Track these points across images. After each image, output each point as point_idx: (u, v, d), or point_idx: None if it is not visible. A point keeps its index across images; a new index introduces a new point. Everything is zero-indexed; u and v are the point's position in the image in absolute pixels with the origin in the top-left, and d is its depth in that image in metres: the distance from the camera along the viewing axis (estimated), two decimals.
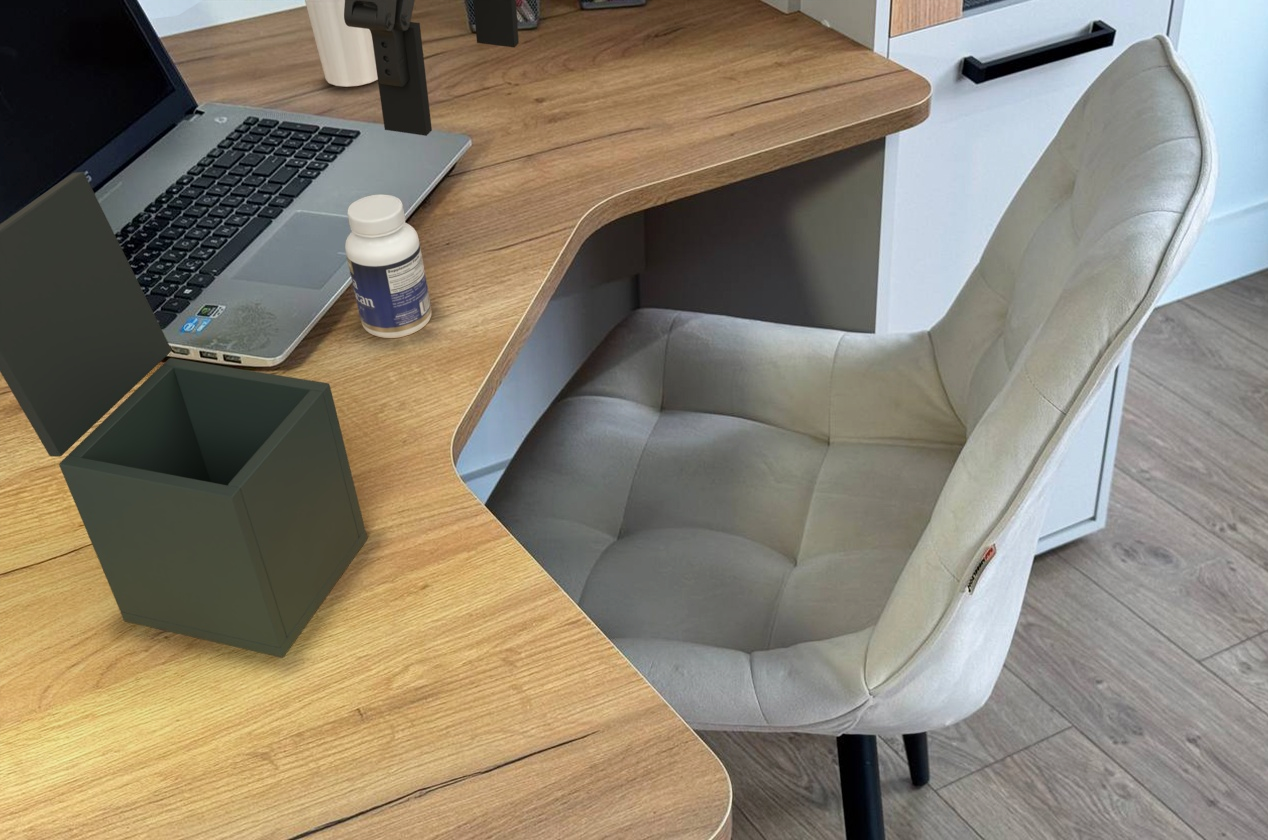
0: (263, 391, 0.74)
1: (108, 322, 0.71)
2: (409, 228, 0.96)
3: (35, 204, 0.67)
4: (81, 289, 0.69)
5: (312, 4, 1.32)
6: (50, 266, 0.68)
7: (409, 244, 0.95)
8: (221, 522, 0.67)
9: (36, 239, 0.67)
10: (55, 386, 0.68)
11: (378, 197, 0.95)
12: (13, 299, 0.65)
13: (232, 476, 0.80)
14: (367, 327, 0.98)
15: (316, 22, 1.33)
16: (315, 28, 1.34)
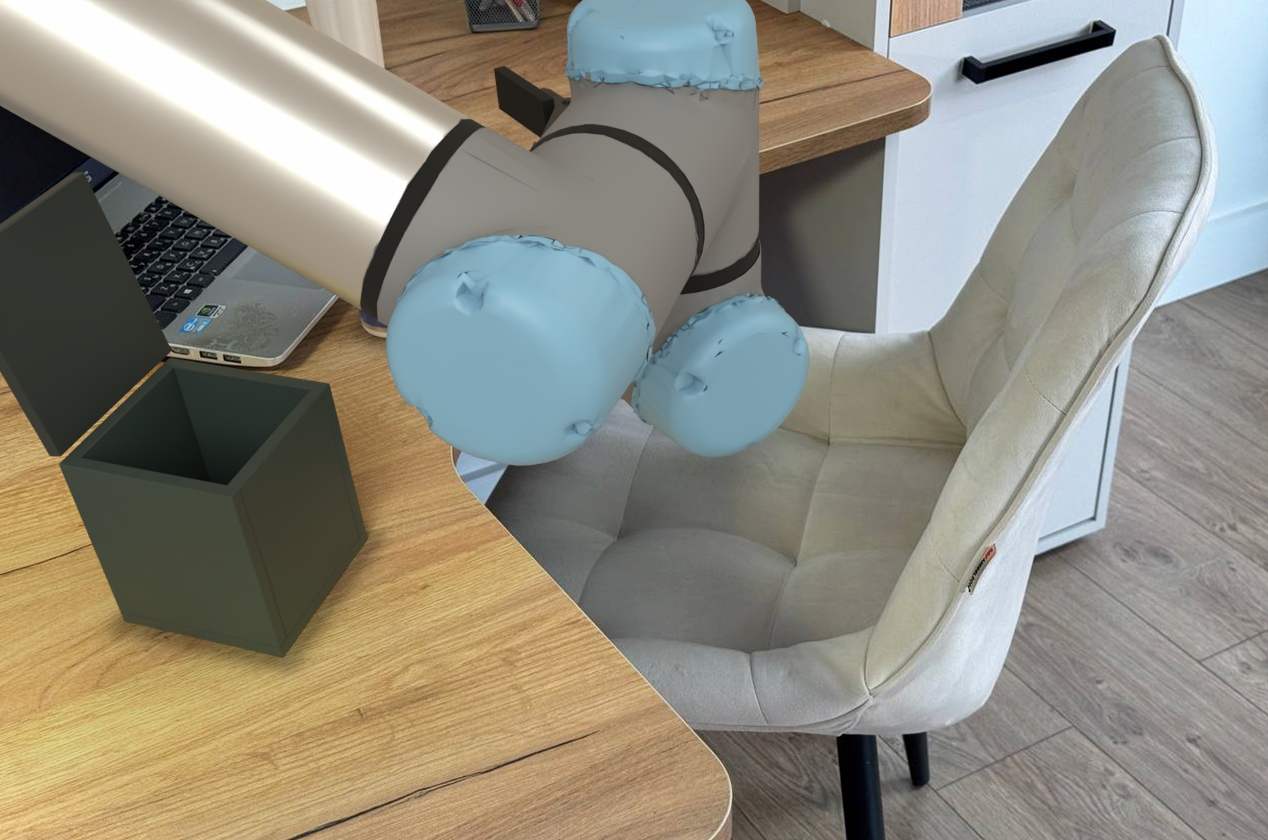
0: (263, 391, 0.74)
1: (108, 322, 0.71)
2: None
3: (35, 204, 0.67)
4: (81, 289, 0.69)
5: (312, 4, 1.32)
6: (50, 266, 0.68)
7: None
8: (221, 522, 0.67)
9: (36, 239, 0.67)
10: (55, 386, 0.68)
11: None
12: (13, 299, 0.65)
13: (232, 476, 0.80)
14: (367, 327, 0.98)
15: (316, 22, 1.33)
16: (315, 28, 1.34)
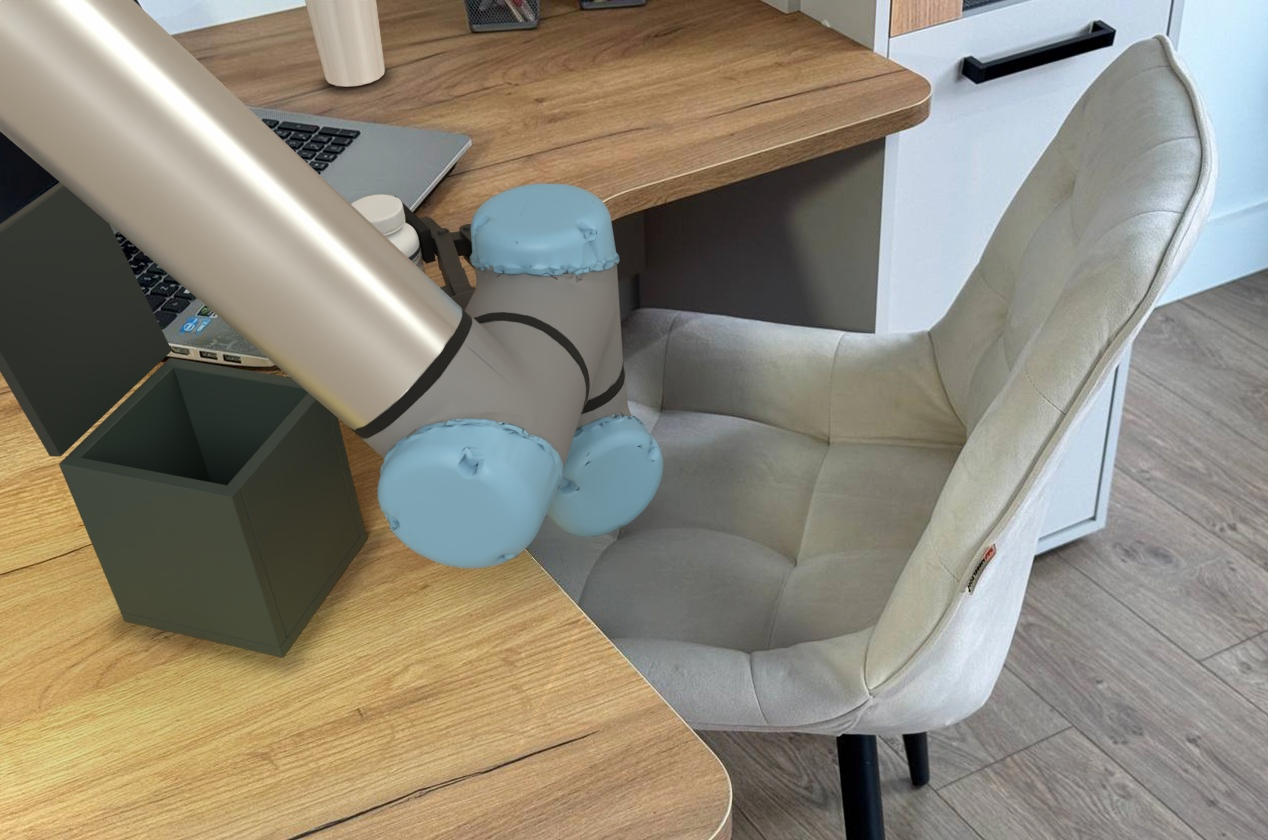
0: (263, 391, 0.74)
1: (108, 322, 0.71)
2: (409, 228, 0.96)
3: (35, 204, 0.67)
4: (81, 289, 0.69)
5: (312, 4, 1.32)
6: (50, 266, 0.68)
7: (409, 244, 0.95)
8: (221, 522, 0.67)
9: (36, 239, 0.67)
10: (55, 386, 0.68)
11: (378, 197, 0.95)
12: (13, 299, 0.65)
13: (232, 476, 0.80)
14: None
15: (316, 22, 1.33)
16: (315, 28, 1.34)
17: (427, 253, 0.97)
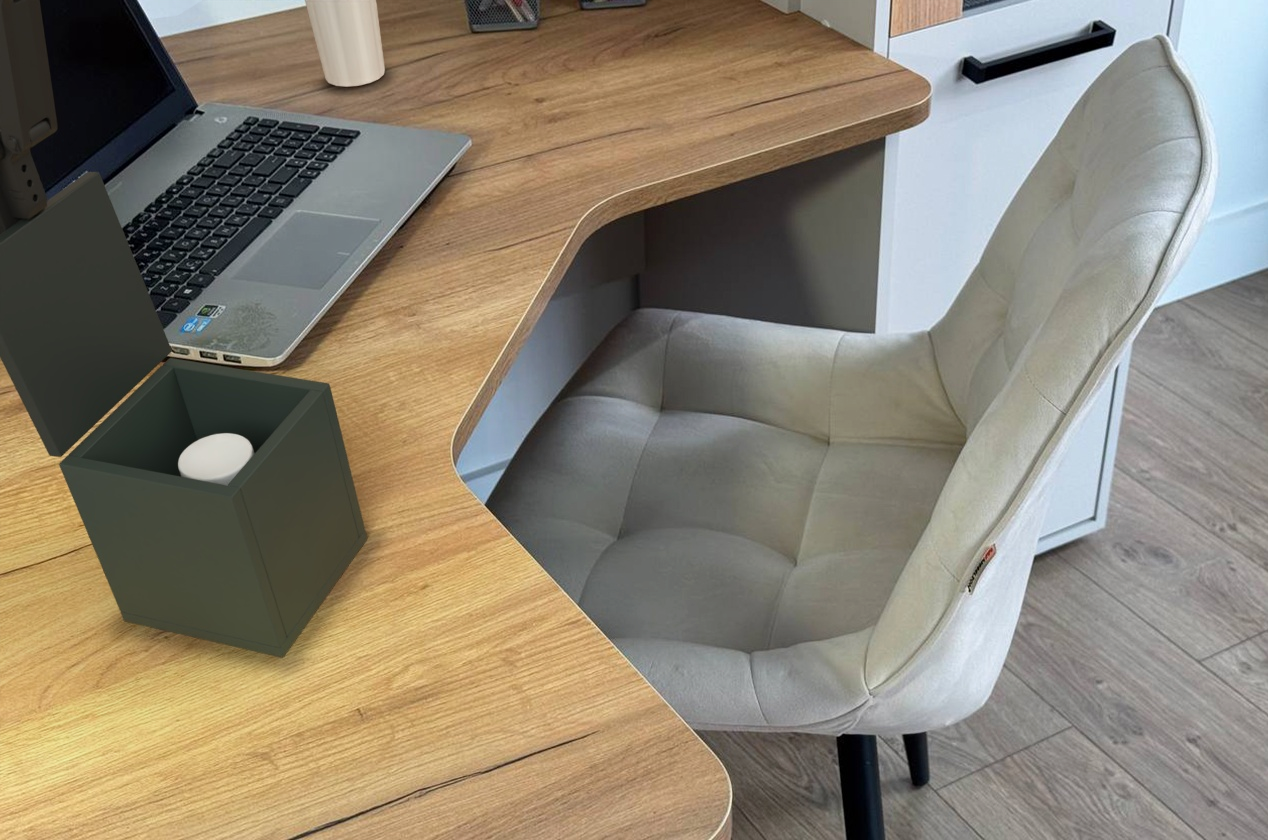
0: (263, 391, 0.74)
1: (113, 323, 0.71)
2: None
3: (50, 204, 0.67)
4: (90, 290, 0.69)
5: (312, 4, 1.32)
6: (62, 266, 0.67)
7: None
8: (221, 522, 0.67)
9: (50, 240, 0.66)
10: (59, 387, 0.68)
11: (216, 439, 0.72)
12: (25, 299, 0.65)
13: None
14: None
15: (316, 22, 1.33)
16: (315, 28, 1.34)
17: None
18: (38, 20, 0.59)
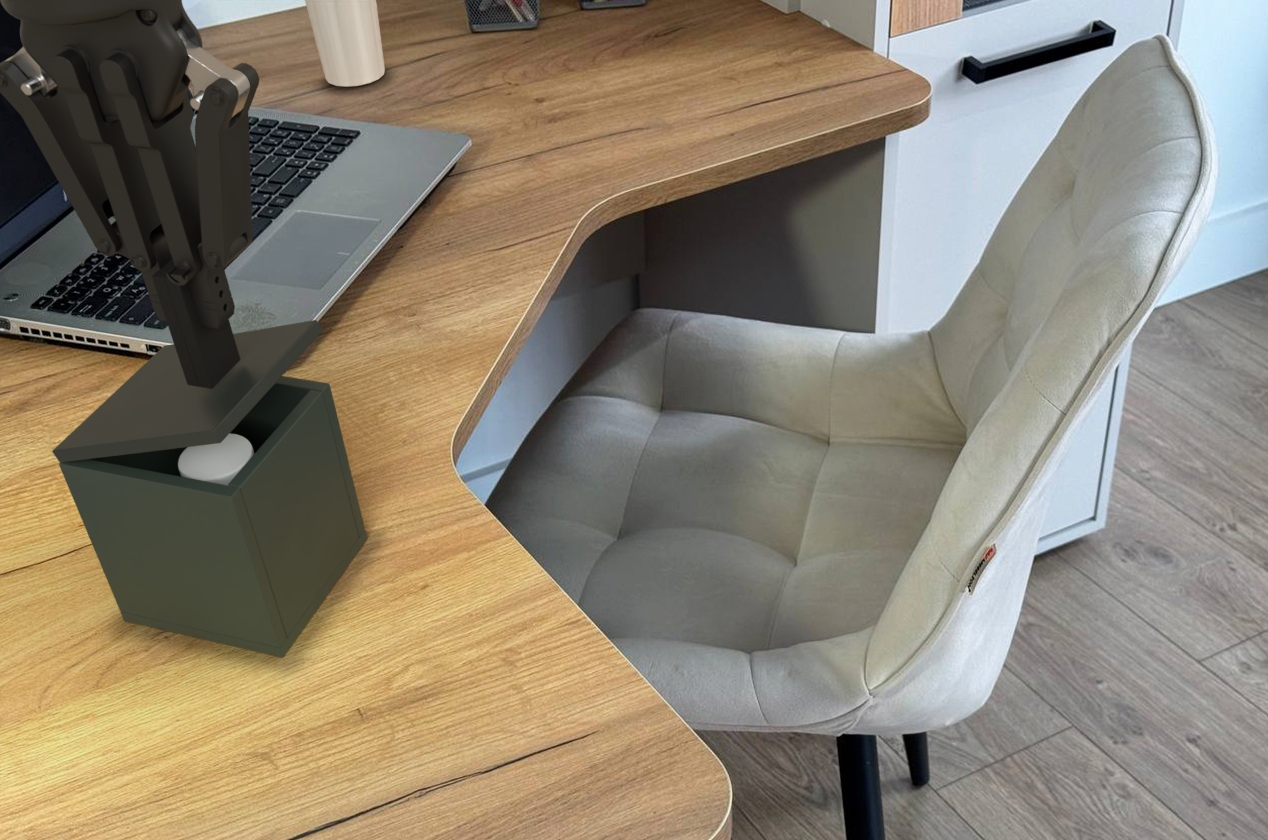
0: None
1: None
2: None
3: (286, 367, 0.68)
4: None
5: (312, 4, 1.32)
6: None
7: None
8: (221, 522, 0.67)
9: None
10: None
11: None
12: None
13: None
14: None
15: (316, 22, 1.33)
16: (315, 28, 1.34)
17: None
18: (246, 141, 0.60)
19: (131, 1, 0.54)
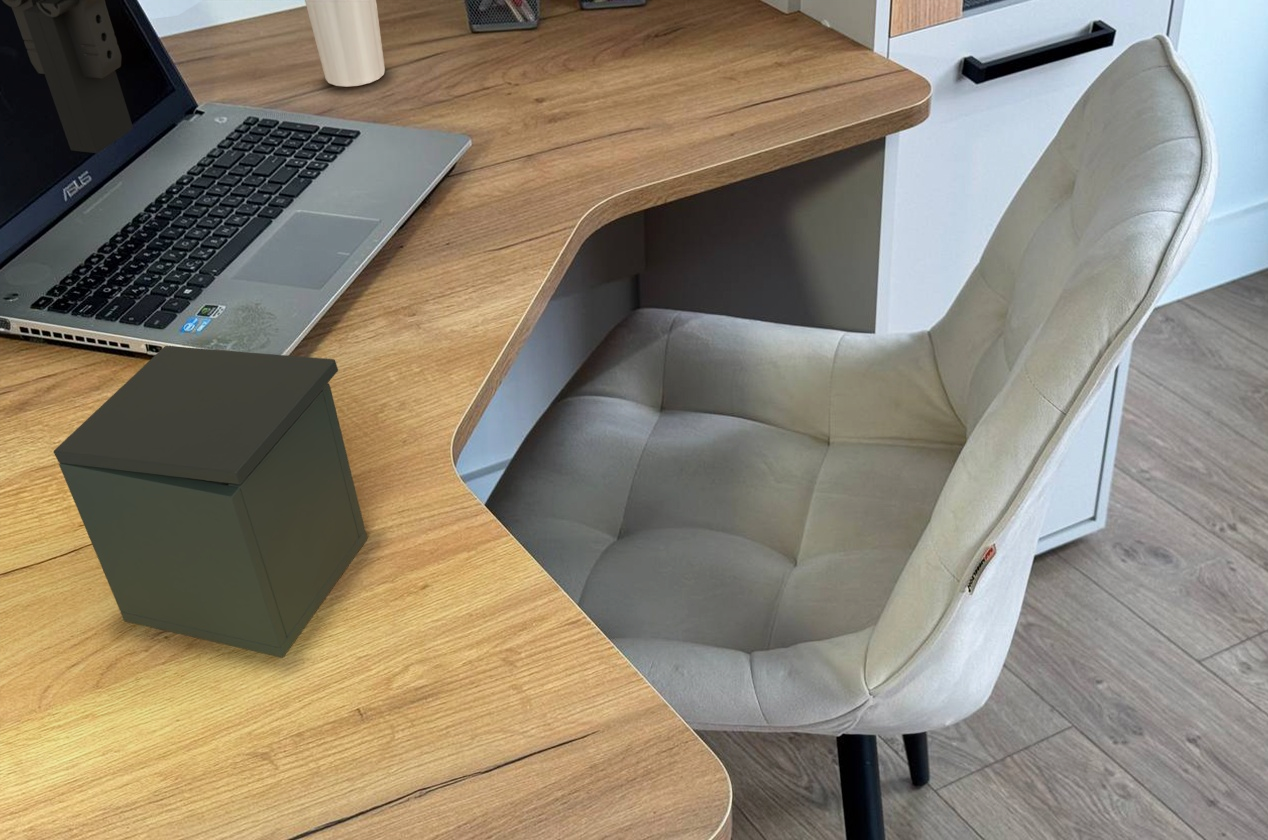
0: None
1: None
2: None
3: (304, 407, 0.69)
4: None
5: (312, 4, 1.32)
6: None
7: None
8: (221, 522, 0.67)
9: None
10: None
11: None
12: None
13: None
14: None
15: (316, 22, 1.33)
16: (315, 28, 1.34)
17: None
18: None
19: None
